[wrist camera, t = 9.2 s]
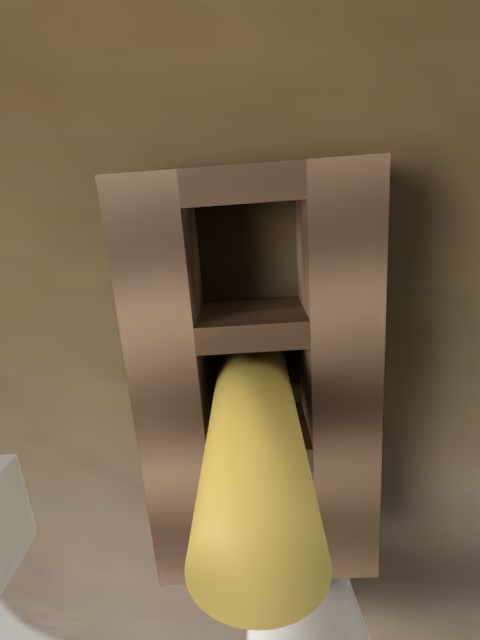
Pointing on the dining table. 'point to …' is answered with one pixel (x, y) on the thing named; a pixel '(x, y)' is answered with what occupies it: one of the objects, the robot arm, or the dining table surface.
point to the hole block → (256, 335)
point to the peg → (256, 504)
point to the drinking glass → (324, 619)
